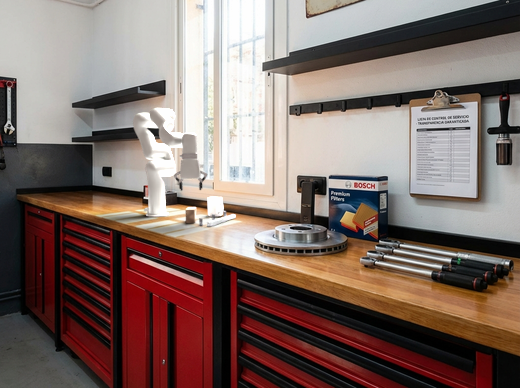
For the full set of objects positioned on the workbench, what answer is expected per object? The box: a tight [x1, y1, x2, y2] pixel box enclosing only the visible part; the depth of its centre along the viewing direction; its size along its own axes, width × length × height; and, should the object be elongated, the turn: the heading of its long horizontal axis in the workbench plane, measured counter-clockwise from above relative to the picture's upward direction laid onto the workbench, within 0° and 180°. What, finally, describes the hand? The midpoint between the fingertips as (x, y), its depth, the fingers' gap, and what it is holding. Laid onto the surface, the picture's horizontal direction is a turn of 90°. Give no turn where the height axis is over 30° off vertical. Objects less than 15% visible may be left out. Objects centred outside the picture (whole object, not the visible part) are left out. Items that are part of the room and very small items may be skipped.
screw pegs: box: [198, 210, 227, 227], centre depth 213 cm, size 2×28×4 cm, turn 158°
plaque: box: [185, 206, 198, 224], centre depth 213 cm, size 4×10×7 cm, turn 3°
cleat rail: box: [206, 213, 237, 227], centre depth 211 cm, size 2×28×2 cm, turn 158°
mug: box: [207, 196, 225, 218], centre depth 231 cm, size 12×8×10 cm
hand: (191, 190), depth 212 cm, fingers open, 9 cm apart
